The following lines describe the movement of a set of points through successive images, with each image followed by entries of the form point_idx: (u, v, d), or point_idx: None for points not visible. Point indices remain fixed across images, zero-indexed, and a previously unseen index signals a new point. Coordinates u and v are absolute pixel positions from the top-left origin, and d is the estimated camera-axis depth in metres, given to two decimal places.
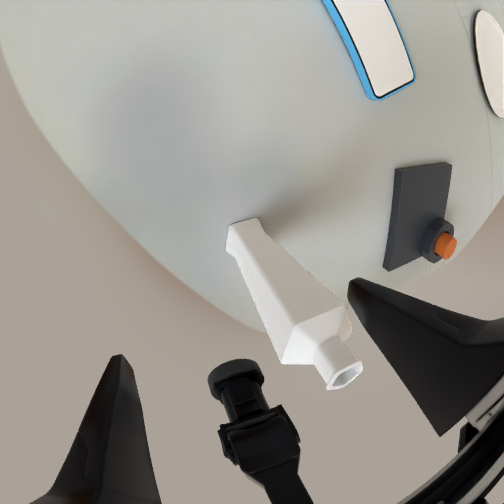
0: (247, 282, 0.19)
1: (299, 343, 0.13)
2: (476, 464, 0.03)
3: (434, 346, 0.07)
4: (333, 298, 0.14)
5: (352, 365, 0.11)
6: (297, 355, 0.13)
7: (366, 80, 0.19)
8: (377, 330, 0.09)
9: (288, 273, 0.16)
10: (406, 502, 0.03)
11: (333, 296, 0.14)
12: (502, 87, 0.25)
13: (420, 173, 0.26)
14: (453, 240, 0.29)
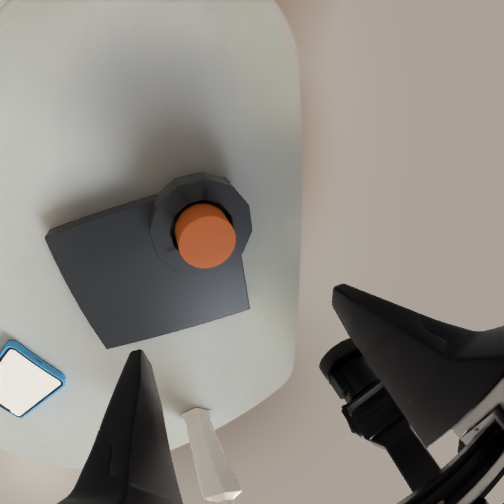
0: None
1: None
2: (476, 464, 0.03)
3: (419, 358, 0.07)
4: None
5: None
6: None
7: (57, 390, 0.21)
8: (361, 338, 0.09)
9: None
10: (406, 502, 0.03)
11: (201, 492, 0.21)
12: None
13: (93, 320, 0.18)
14: (183, 247, 0.14)
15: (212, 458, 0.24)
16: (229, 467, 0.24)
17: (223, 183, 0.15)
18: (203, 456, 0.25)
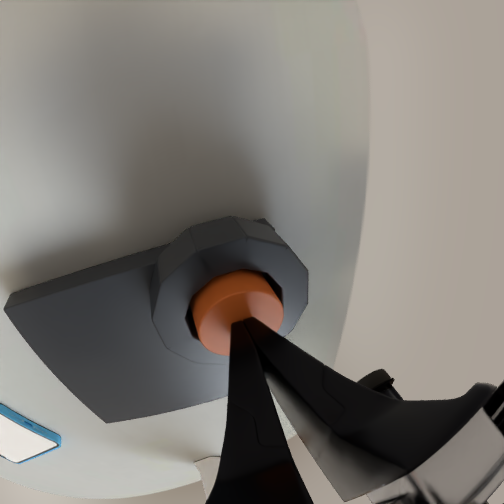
0: None
1: None
2: None
3: (311, 419, 0.06)
4: None
5: None
6: None
7: (53, 449, 0.15)
8: (268, 379, 0.08)
9: None
10: None
11: None
12: None
13: (86, 399, 0.12)
14: (206, 334, 0.09)
15: None
16: None
17: (273, 241, 0.09)
18: None
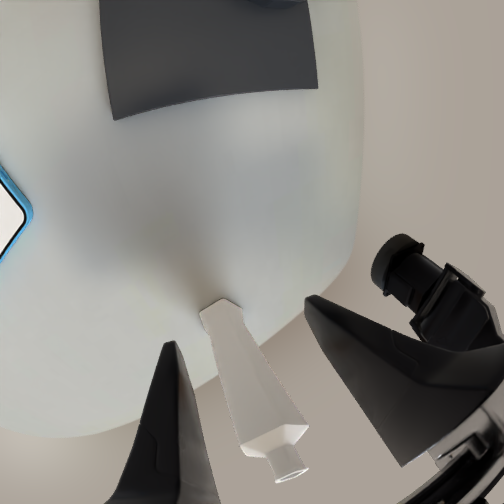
0: None
1: None
2: (476, 464, 0.03)
3: (388, 378, 0.06)
4: None
5: (276, 481, 0.11)
6: None
7: (15, 239, 0.13)
8: (332, 352, 0.09)
9: None
10: (406, 502, 0.03)
11: (236, 434, 0.13)
12: None
13: (113, 65, 0.11)
14: None
15: (255, 367, 0.17)
16: (282, 386, 0.17)
17: None
18: (237, 367, 0.17)
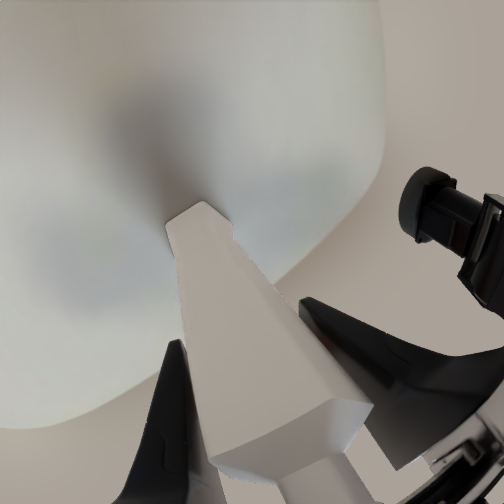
0: None
1: None
2: (476, 464, 0.03)
3: (381, 382, 0.06)
4: None
5: None
6: None
7: None
8: None
9: None
10: (406, 502, 0.03)
11: None
12: None
13: None
14: None
15: (251, 280, 0.09)
16: (307, 327, 0.09)
17: None
18: (215, 283, 0.09)
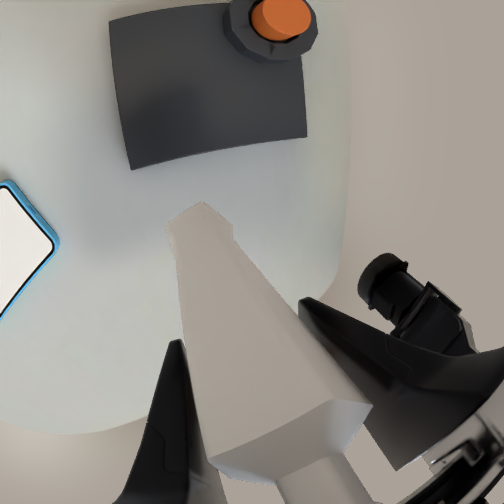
0: None
1: None
2: (476, 464, 0.03)
3: (381, 383, 0.06)
4: (202, 436, 0.05)
5: None
6: None
7: (44, 264, 0.17)
8: None
9: None
10: (406, 502, 0.03)
11: None
12: None
13: (128, 121, 0.15)
14: (266, 9, 0.11)
15: (250, 280, 0.09)
16: (306, 327, 0.09)
17: None
18: (214, 284, 0.09)
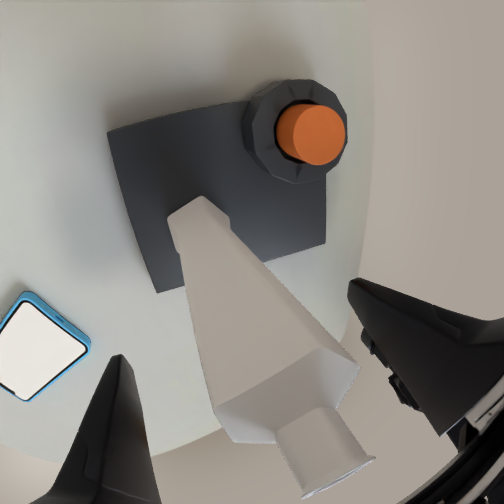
0: None
1: None
2: (476, 464, 0.03)
3: (434, 346, 0.07)
4: (208, 391, 0.06)
5: (306, 496, 0.04)
6: None
7: None
8: (377, 330, 0.09)
9: None
10: (406, 502, 0.03)
11: None
12: None
13: (148, 250, 0.16)
14: (297, 134, 0.12)
15: (248, 259, 0.10)
16: (298, 301, 0.10)
17: (326, 88, 0.13)
18: (216, 263, 0.10)
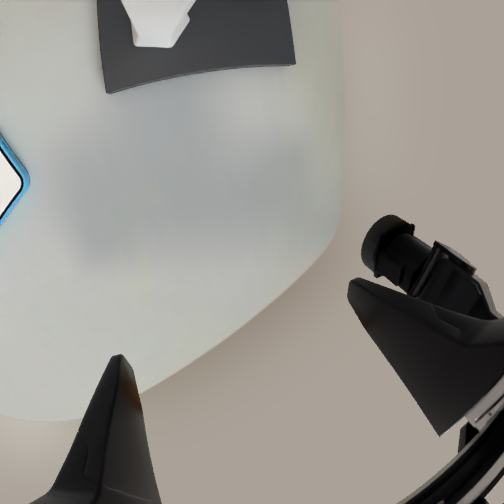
0: (170, 21, 0.09)
1: None
2: (476, 464, 0.03)
3: (434, 346, 0.07)
4: None
5: None
6: None
7: (12, 206, 0.14)
8: (377, 330, 0.09)
9: None
10: (406, 502, 0.03)
11: None
12: None
13: (107, 45, 0.11)
14: None
15: None
16: None
17: None
18: None
